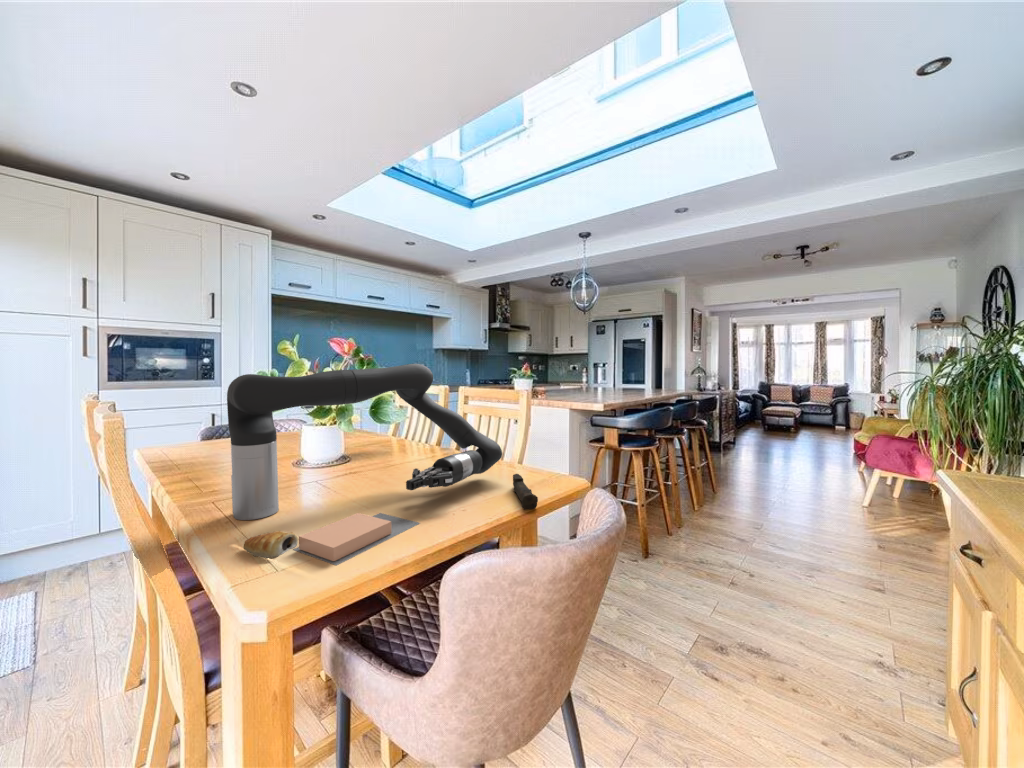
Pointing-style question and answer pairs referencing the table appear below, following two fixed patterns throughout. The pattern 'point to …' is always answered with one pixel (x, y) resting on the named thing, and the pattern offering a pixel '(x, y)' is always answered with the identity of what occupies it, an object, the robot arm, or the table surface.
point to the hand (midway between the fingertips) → (408, 485)
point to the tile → (344, 536)
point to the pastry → (271, 544)
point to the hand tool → (524, 493)
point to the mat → (396, 528)
